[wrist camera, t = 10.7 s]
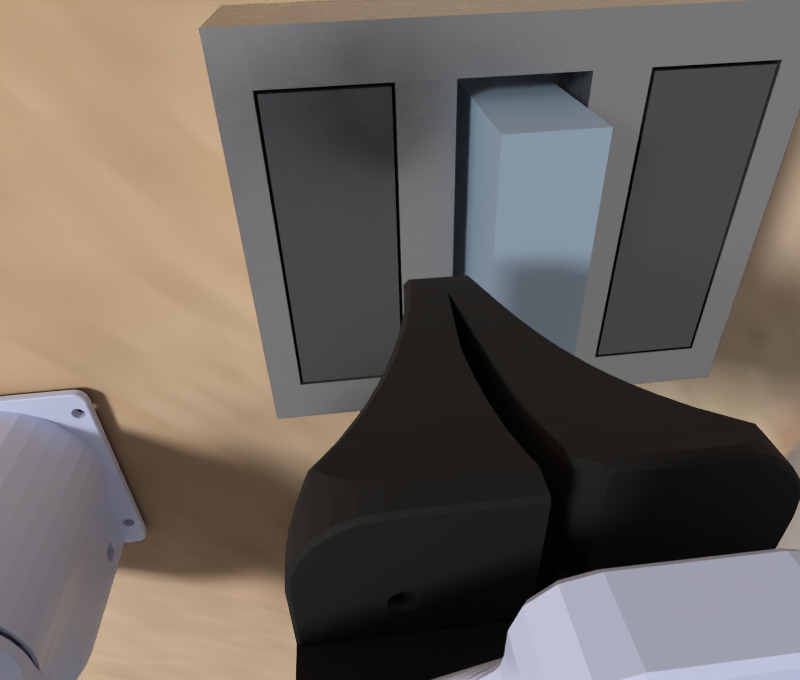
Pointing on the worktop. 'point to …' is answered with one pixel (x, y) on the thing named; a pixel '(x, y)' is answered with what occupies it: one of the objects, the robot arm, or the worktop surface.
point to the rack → (435, 166)
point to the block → (528, 197)
